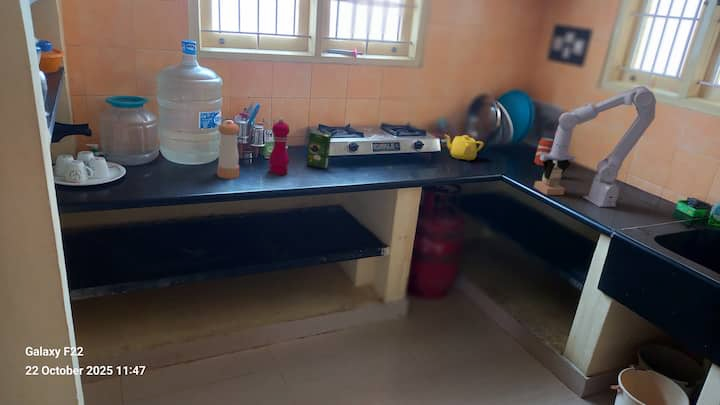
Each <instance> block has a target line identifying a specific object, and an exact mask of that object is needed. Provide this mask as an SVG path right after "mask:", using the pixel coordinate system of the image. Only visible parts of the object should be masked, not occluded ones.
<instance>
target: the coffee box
mask: <svg viewBox="0 0 720 405" xmlns="http://www.w3.org/2000/svg"><path fill="white" fill-rule="evenodd" d="M308 137H309V138H308V147H307V158H306V165H307V166H310V167H315V168H318V169H319V168H320V169H322V170H323V169H324V170H326V169H327V168H328V164H329V154H330V145H331V139H332V135H331V134H326V133H322V132H318V131H314V130H312V131H310V132H309V136H308Z"/></svg>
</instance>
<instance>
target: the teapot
mask: <svg viewBox="0 0 720 405" xmlns="http://www.w3.org/2000/svg"><path fill="white" fill-rule="evenodd" d="M444 136H445V138H446V146H447V149H448V150H449V153H450V155H451V157H452V158H454V159H455V160H460V159H461V160H465V161H468V162H469V161H470V162H471V161H474V160H475V159H476V157H477V153H478V151H480V150H481V149H482V148H483V147H484V145H485V144H484V142H483V141H476V140H475V139H474V138H473V137H470V136H469V135H467V134H465V135H461V136H459V135H457V136H456V135H455V137H454V139H453V140H452V142H451V137H450V136H449V135H447V134H444ZM477 144H479V145H478V147H477Z"/></svg>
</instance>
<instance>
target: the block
mask: <svg viewBox="0 0 720 405" xmlns="http://www.w3.org/2000/svg"><path fill="white" fill-rule="evenodd" d="M561 174H562V169H560V168H558V167H556V166H554V168H553V170H552V172H551V175H550V178H549V179H546V178H545V177H544V174H543V175H542V180H541V181H544V182H545V183H547V184H549V185H560V181H561V179H562V178H561ZM562 175H563V174H562ZM560 178H561V179H560Z"/></svg>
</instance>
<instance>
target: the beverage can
mask: <svg viewBox="0 0 720 405" xmlns="http://www.w3.org/2000/svg"><path fill="white" fill-rule="evenodd" d="M553 142H554V138H553V139H552V138H550V137H541V138H540V140H539V141H538V145H537V150H536V153H535V158H534V160H533V161H534V163H535V164H536V165H537V166H540V167H544V165H543V162H542V160H540V156H541V155H543V154H549V153H550V152H551V150H552V146H553Z"/></svg>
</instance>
